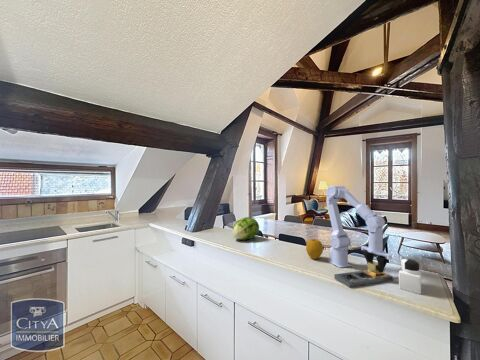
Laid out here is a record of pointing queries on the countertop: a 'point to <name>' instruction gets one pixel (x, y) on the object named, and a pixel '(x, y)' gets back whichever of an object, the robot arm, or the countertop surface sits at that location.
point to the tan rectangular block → (374, 268)
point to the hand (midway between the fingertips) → (375, 269)
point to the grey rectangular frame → (359, 280)
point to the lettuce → (245, 228)
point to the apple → (314, 248)
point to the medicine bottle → (410, 276)
